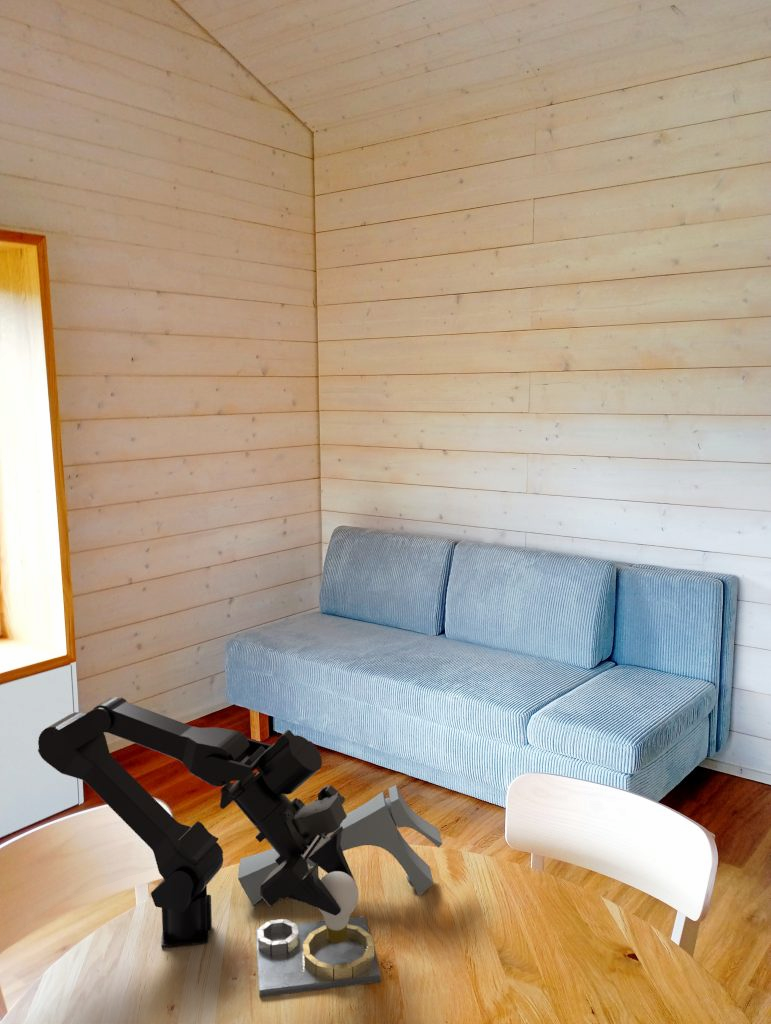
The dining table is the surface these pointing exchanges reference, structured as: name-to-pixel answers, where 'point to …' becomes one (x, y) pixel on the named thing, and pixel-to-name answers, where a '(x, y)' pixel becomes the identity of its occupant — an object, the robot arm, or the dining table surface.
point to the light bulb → (340, 903)
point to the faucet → (361, 842)
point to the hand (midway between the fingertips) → (346, 899)
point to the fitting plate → (324, 952)
